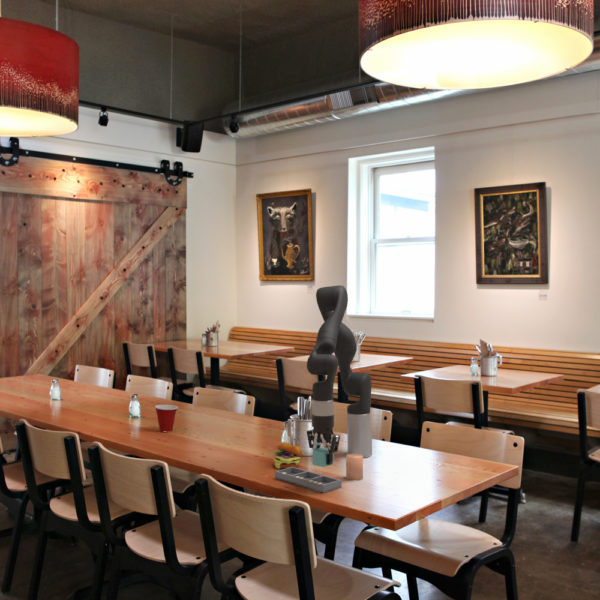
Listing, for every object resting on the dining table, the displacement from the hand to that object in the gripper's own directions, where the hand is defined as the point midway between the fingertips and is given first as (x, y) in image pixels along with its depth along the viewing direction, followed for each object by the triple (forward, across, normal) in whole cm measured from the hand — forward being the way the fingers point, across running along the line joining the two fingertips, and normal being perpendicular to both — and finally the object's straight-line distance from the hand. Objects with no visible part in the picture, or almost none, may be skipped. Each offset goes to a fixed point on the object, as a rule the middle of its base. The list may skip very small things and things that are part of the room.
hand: (323, 462), depth 234 cm
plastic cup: (+9, +115, -12) cm, 116 cm away
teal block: (0, 0, 0) cm, 0 cm away
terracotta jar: (+8, 0, -16) cm, 18 cm away
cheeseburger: (+9, +29, -10) cm, 32 cm away
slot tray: (+8, +8, 0) cm, 12 cm away
